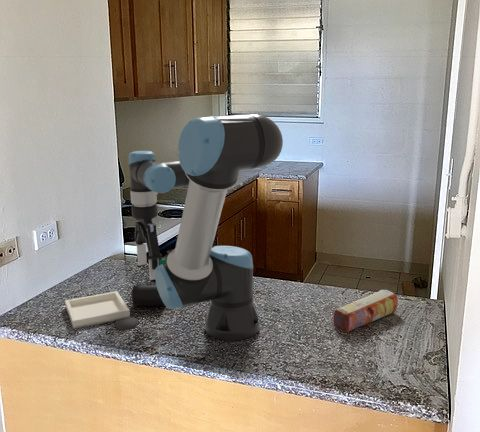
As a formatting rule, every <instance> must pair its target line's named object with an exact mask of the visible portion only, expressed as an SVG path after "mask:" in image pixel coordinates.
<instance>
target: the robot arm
mask: <svg viewBox="0 0 480 432" xmlns="http://www.w3.org/2000/svg"><path fill="white" fill-rule="evenodd" d="M283 142H284V140H283V135H282V131H281V130H280V127H279V126H278V125H277V124H276V123H275V121H273V120H272V119H270V118H269V117H267V116H264V115H261V114H254V113H253V114H252V113H249V114H238V115H236V114H235V115H234V114H233V115H224V116H223V115H220V116H214V115H207V116H203V117H195V118H193V119H191V120H189V121H188V122H186V123H185V125H184V126H183V128H182V129H181V131H180V135H179V139H178V144H177V145H178V146H177V149H178V151H179V153H178V160H172V161H163V162H156V161H157V159H156V158H155V157H156V156H155V153H154V151H151V150H136V151H132V152H129V154H128V165H127V166H128V173H129V185H130V186H129V187H130V189H129V191H130V203H131V204H132V205H131V216H132V218H134V219H135V223H134V225H135V228H134V237H133V239H134V241H135V244H136V255H137V257H136V258H137V266H142V265H148V271H149V280H150V281H153V280H155V284H156V285H157V289H158V292H159V295H160V297H161V299H162V301H163V303H164V304H165V307H166V308H167V309H170V310H176V309H184V308H187V307H190V306H193V305H198V304H201V303H205V302H209V301H210V305H209V307H208V311H207V314H206V318H205V321H204V324H205V325H204V326H205V328H204V329H205V332H206V333H207V335H209V336H210V337H212V338H214V339H217V340H220V341H221V340H222V341H229V342H231V341H242V340H245V339H249V338H252V337H253V336H255V335H256V334H258V333H259V331H260V326H261V325H260V323H261V322H260V317H259V315H258V312H257V310H256V306H255V303H254V275H253V274H254V264H253V263H254V262H253V255H252V254H251V252H250V251H248V250H247V249H245V248H243V247H239V246H233V245H215V246H213V244H214V241H215V237H216V234H217V229H218V227H219V222H220V218H221V214H222V211H223V206H224V204H225V200H226V195H227V193H228V190H230V189H231V188H233V187H234V186H235V185H236V184H237V181H238V177H239V174H240V172H241V171H242V170H243V171H245V170H250V169H258V168H262V167H263V168H264V167H265V166H268V165H271V164H272V163H273V162H274V161H275V160H277V159H278V157H279V156H280V154H281V153H282V149H283V146H284V145H283ZM185 187H186V188H187V191H186V196H185V201H184V206H183V210H182V215H181V220H180V225H179V229H178V234H177V239H176V243H175V248H174V249H171V250H172V251H171V252H170V253H169V255H168V254H167V256H168V257H167V256H166V257H167V261H166V264H165V265H162V264H161V265H160V266H159V261H158V258H161V255H160V254H161V251H160V245H159V241H158V235H157V224H155V223H154V222H153V219H155V218H157V217H158V214H159V212H158V210H159V209H158V204H157V202H158V196H157V195H159V194H160V193H161V194H166V193H167V192H168V193H169V191H171V190H172V189H180V188H185ZM147 251H148V252H147ZM147 253H148V257H147ZM147 260H148V261H147Z"/></svg>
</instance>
